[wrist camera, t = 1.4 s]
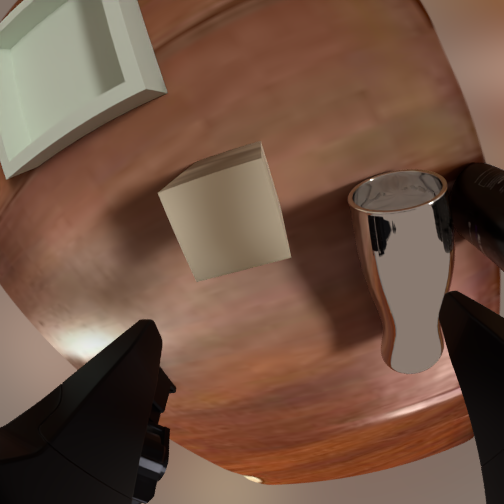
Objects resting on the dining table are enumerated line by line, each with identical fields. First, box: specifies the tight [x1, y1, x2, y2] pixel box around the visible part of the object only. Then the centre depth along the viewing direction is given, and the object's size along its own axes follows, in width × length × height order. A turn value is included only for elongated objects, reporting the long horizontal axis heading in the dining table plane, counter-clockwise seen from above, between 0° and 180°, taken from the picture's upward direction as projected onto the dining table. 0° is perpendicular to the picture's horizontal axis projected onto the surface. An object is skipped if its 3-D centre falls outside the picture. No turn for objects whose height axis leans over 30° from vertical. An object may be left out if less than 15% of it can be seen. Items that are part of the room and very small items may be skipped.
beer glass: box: [347, 169, 455, 374], centre depth 19 cm, size 7×7×15 cm
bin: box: [0, 0, 167, 180], centre depth 13 cm, size 13×13×4 cm
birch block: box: [158, 141, 291, 282], centre depth 16 cm, size 4×4×8 cm
